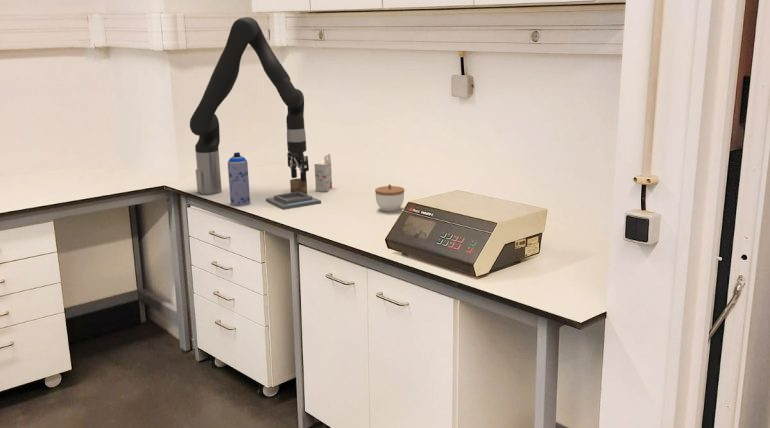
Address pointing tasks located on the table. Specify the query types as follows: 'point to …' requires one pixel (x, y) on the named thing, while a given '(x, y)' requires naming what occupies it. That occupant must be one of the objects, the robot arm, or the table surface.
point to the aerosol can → (238, 180)
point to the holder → (292, 200)
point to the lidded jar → (389, 197)
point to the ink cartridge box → (323, 174)
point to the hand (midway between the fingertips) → (298, 179)
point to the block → (298, 185)
